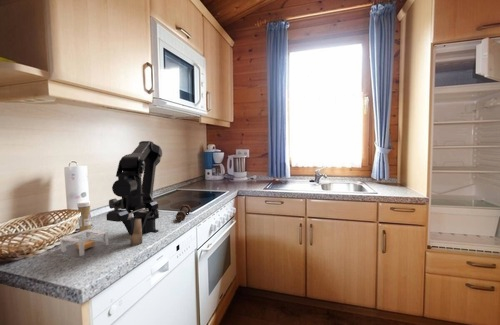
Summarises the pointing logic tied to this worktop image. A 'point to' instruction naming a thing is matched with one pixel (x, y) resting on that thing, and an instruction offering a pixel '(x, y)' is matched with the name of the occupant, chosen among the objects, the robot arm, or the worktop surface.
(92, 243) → the orange square block
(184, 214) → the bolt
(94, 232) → the white mini table
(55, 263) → the worktop surface
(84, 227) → the sprinkles bottle
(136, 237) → the walnut cylinder
